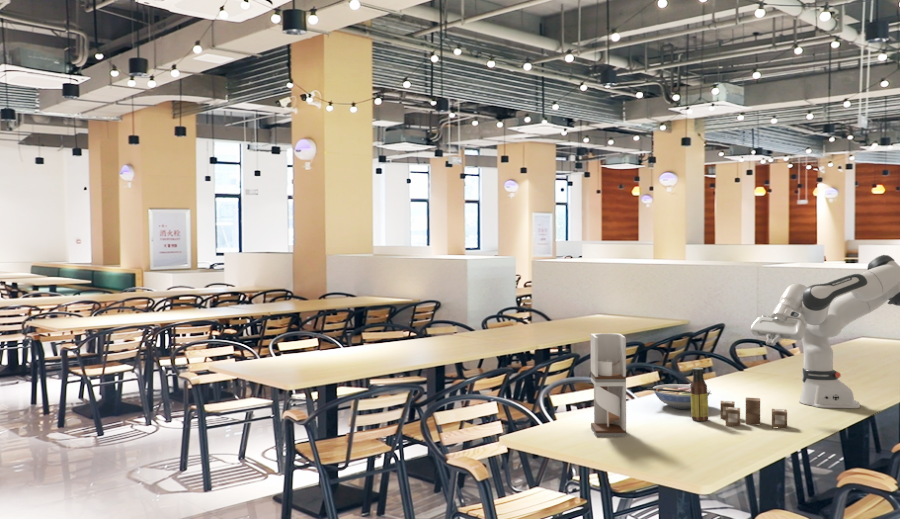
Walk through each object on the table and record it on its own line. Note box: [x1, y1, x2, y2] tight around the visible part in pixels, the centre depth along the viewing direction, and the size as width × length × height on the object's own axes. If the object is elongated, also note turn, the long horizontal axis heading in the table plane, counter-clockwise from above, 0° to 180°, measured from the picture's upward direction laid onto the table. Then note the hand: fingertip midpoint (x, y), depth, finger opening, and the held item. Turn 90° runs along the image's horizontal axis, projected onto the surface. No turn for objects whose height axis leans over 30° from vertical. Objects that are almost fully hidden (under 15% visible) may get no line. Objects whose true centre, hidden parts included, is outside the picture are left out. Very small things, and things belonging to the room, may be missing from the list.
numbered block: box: [771, 408, 788, 429], centre depth 285 cm, size 5×5×6 cm
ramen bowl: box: [646, 383, 712, 410], centre depth 319 cm, size 25×23×8 cm
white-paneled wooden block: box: [725, 407, 741, 427], centre depth 289 cm, size 5×5×6 cm
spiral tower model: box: [589, 332, 627, 437], centre depth 279 cm, size 11×11×35 cm
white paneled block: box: [720, 400, 736, 420], centre depth 300 cm, size 5×5×6 cm
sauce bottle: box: [689, 367, 709, 422], centre depth 296 cm, size 6×6×20 cm
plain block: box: [745, 397, 761, 425], centre depth 291 cm, size 5×5×9 cm
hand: (769, 344), depth 299 cm, fingers closed
